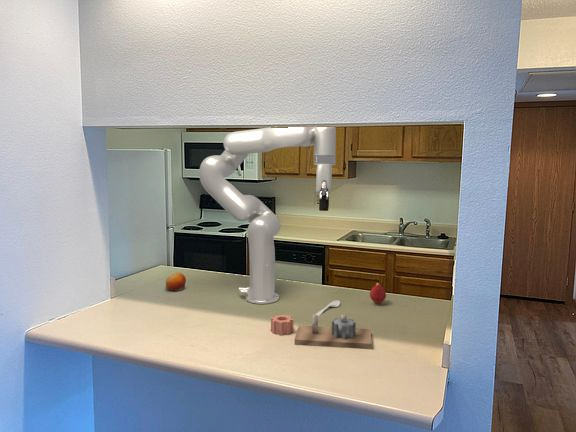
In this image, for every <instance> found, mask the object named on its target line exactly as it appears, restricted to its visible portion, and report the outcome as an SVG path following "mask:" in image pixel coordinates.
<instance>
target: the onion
mask: <svg viewBox="0 0 576 432" xmlns="http://www.w3.org/2000/svg"><path fill="white" fill-rule="evenodd" d="M386 293H387V292H386V290H385V289H384V287H383V286H382V285H381V284H380V283H378V282H376V283H375V285H374V286H373V287H372V288H371V290H370V291H369V297H370V299H371V300H372V302H373V303H374V304H375V305H380V304H382V303H383V302H384V301H385V300H386V298H387V294H386Z"/></svg>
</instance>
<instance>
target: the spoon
mask: <svg viewBox="0 0 576 432" xmlns="http://www.w3.org/2000/svg"><path fill="white" fill-rule="evenodd" d="M340 305H341V301H340V300H332V301H331V302H330V303H328V304H327V305H326V306H325V307H324V308H322V309H321V310H319V311H318V312H317V313H315V314H314V315H318V317H320V316H321V315H322V314H323V313H324V311H325V310H327V309H328V308H329V307H332V308H338V307H340Z"/></svg>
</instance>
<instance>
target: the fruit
mask: <svg viewBox="0 0 576 432" xmlns="http://www.w3.org/2000/svg"><path fill="white" fill-rule="evenodd" d="M186 282H187V279H186V276H185V275H184V274H183V273H181V272H175V273H173V274H170V275H169V276H168V277H167V278H166V280H165V286H166V289H168V290H169V291H171V292H178V291H183V289H186V287H185V286H186V284H187V283H186Z"/></svg>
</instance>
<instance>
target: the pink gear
mask: <svg viewBox="0 0 576 432" xmlns="http://www.w3.org/2000/svg"><path fill="white" fill-rule="evenodd" d="M270 331H271V333H272V334H273V335H276V334H277V335H278V336H284V335H291V333H293V332H294V318H293V316H292V315H286V314H282V315H281V314H280V315H278V314H277V315H274V317H273V316H272V317H270Z"/></svg>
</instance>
